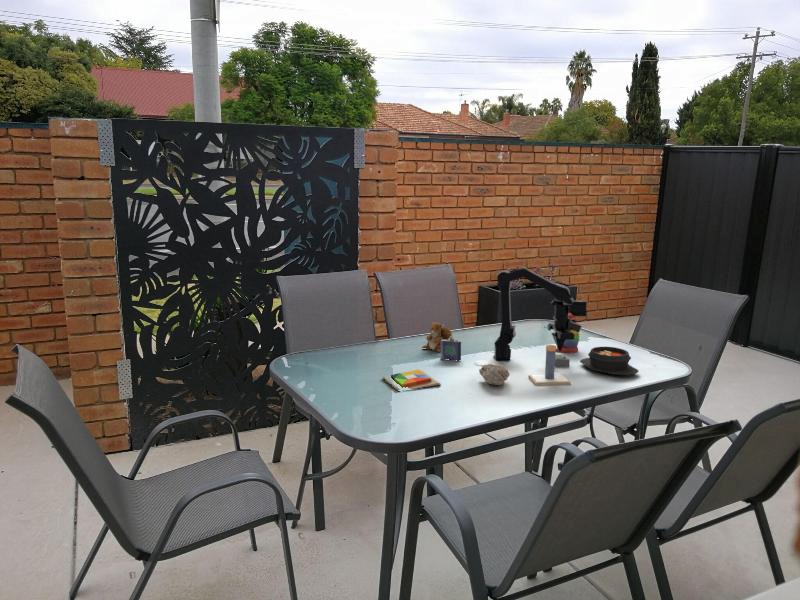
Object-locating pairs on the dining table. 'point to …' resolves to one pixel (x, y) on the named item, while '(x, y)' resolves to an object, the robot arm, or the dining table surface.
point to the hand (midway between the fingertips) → (559, 350)
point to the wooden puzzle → (412, 379)
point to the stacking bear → (570, 345)
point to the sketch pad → (550, 380)
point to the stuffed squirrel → (437, 336)
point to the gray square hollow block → (562, 361)
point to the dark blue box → (451, 349)
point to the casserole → (609, 361)
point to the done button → (559, 356)
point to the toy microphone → (550, 361)
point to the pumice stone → (494, 374)
